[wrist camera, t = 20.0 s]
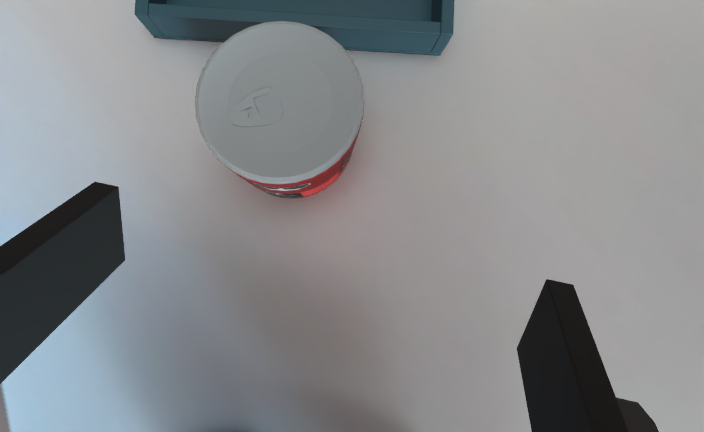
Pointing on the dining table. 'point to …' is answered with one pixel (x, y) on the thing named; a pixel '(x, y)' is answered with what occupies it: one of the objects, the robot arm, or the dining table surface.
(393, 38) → the tray
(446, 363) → the dining table surface
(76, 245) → the robot arm
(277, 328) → the dining table surface
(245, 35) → the canned food
